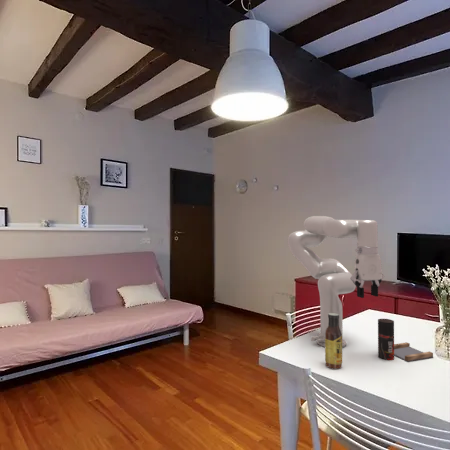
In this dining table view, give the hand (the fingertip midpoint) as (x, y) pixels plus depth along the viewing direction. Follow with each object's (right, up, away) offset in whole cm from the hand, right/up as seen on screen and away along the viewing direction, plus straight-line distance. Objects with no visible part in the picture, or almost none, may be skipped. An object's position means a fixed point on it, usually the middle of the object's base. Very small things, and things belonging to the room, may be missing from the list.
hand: (367, 296), depth 137 cm
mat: (+19, -25, +6) cm, 32 cm away
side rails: (+19, -25, +6) cm, 32 cm away
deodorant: (+9, -26, +3) cm, 27 cm away
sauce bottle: (-15, -26, -5) cm, 30 cm away
